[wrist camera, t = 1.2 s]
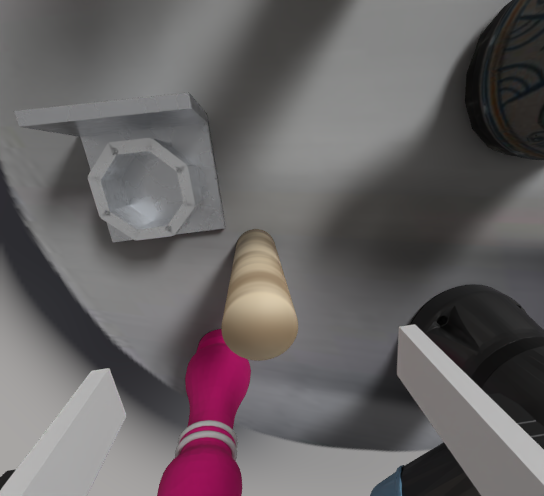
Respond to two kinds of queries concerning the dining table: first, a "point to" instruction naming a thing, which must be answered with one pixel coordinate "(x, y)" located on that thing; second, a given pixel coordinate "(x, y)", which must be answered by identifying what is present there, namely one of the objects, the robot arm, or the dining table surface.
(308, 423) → the dining table surface
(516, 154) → the black tapered vessel
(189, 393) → the pepper mill
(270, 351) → the wooden spindle
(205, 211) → the cup bracket
